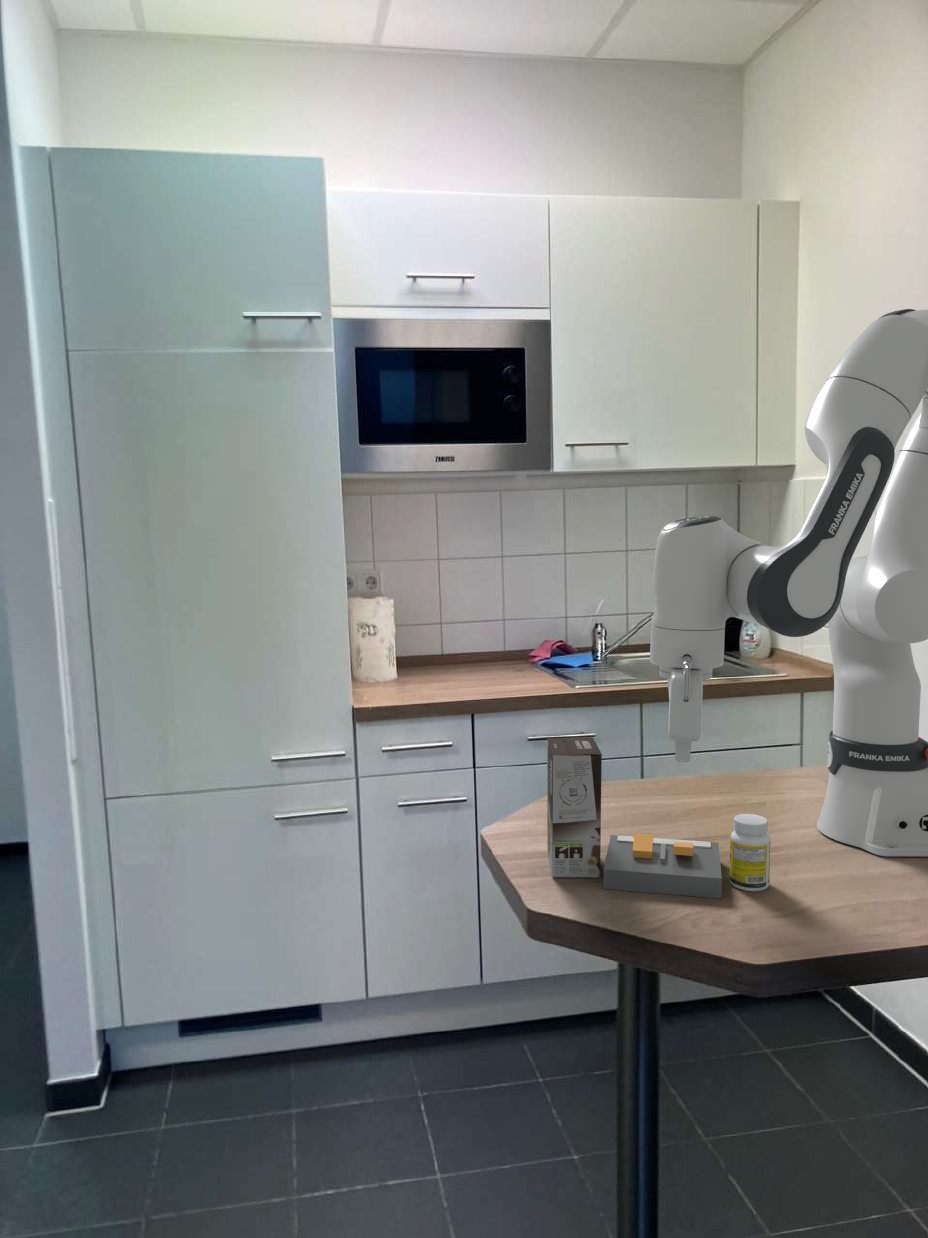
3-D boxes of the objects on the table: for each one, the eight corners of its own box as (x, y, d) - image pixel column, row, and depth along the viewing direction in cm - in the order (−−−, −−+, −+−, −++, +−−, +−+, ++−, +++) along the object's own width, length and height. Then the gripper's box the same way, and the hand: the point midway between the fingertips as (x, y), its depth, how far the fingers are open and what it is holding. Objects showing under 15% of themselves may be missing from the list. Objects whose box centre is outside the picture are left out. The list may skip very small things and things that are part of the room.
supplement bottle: (741, 873, 118) (743, 809, 117) (776, 884, 115) (778, 818, 114) (721, 884, 115) (723, 819, 114) (757, 896, 111) (759, 828, 110)
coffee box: (602, 878, 117) (603, 754, 115) (551, 878, 117) (551, 754, 115) (593, 851, 126) (594, 735, 124) (546, 851, 126) (546, 736, 124)
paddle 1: (653, 841, 120) (653, 834, 119) (652, 858, 116) (652, 851, 116) (634, 839, 120) (634, 833, 120) (632, 857, 117) (632, 850, 116)
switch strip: (717, 860, 122) (718, 838, 122) (721, 898, 111) (722, 873, 110) (610, 852, 125) (610, 830, 125) (603, 888, 114) (603, 864, 113)
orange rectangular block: (692, 850, 119) (692, 843, 119) (693, 856, 115) (693, 847, 115) (673, 849, 119) (673, 841, 119) (673, 854, 115) (673, 846, 115)
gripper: (716, 664, 103) (711, 785, 105) (710, 639, 123) (706, 740, 124) (658, 662, 104) (654, 781, 106) (662, 637, 124) (658, 737, 126)
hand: (682, 759), depth 115 cm, fingers closed
